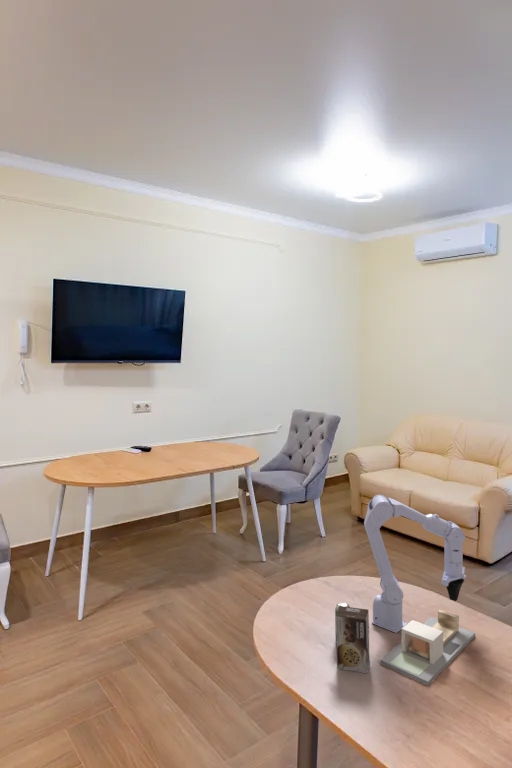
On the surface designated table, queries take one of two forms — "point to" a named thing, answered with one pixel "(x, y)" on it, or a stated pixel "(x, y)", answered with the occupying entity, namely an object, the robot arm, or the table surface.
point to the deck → (420, 665)
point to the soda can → (336, 613)
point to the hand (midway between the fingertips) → (453, 599)
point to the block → (421, 645)
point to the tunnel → (423, 638)
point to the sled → (442, 629)
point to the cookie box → (352, 639)
